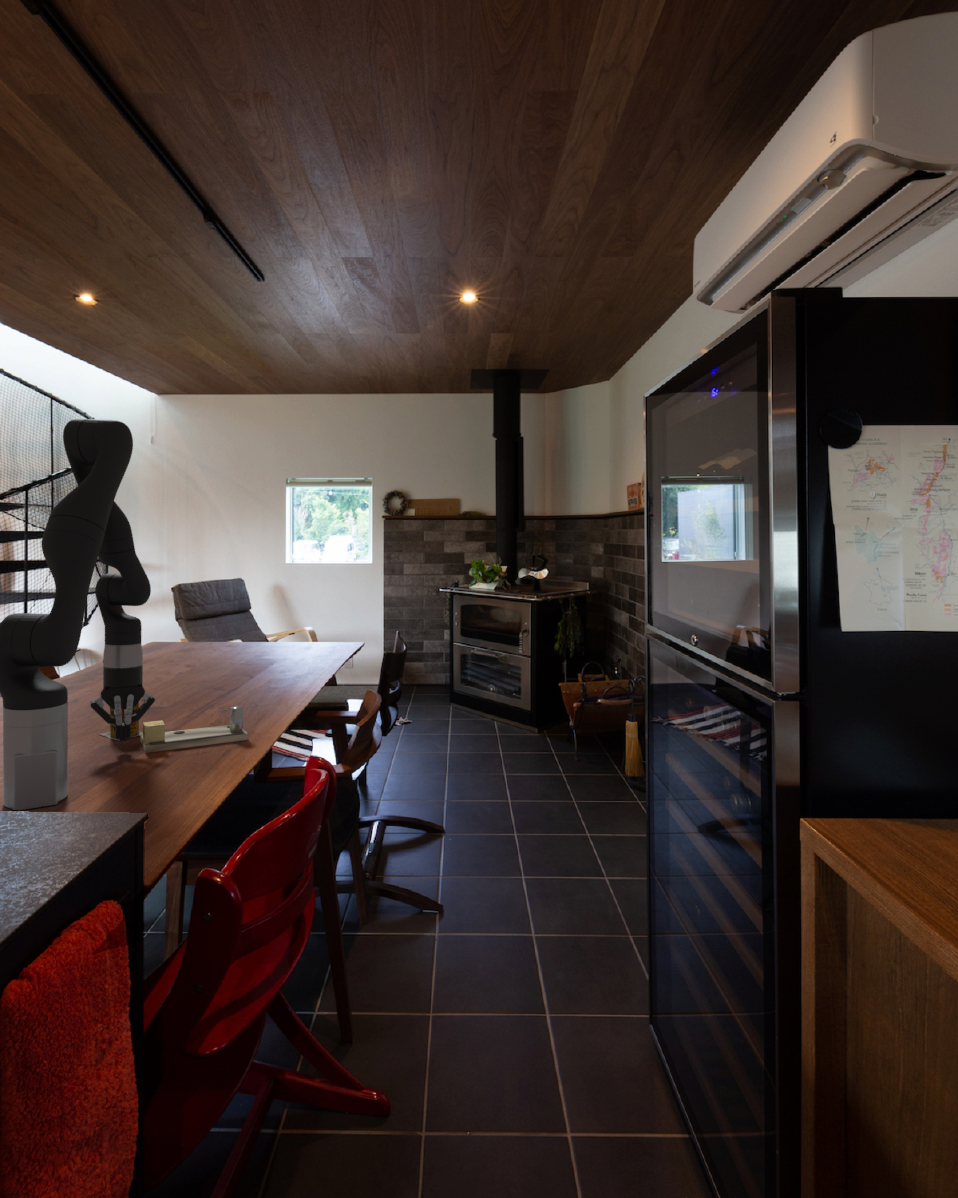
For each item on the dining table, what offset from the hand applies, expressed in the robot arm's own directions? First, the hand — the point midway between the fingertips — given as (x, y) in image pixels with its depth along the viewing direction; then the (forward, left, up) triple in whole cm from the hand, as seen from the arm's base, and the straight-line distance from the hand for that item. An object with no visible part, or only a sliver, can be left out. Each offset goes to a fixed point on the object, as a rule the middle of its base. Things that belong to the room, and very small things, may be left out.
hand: (123, 740), depth 135 cm
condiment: (+15, -1, -3) cm, 15 cm away
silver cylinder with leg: (+2, -24, -1) cm, 24 cm away
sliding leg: (+1, -6, -1) cm, 6 cm away
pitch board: (+2, -15, -2) cm, 15 cm away
